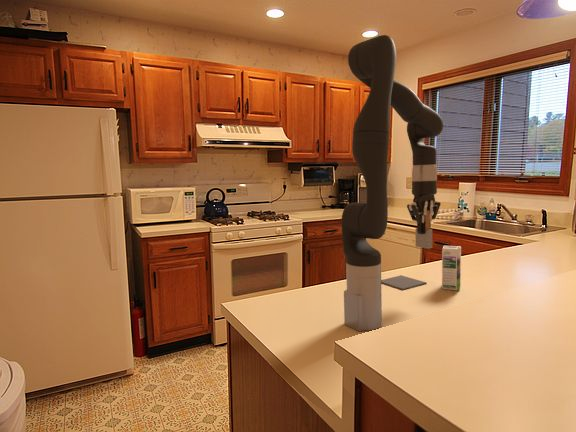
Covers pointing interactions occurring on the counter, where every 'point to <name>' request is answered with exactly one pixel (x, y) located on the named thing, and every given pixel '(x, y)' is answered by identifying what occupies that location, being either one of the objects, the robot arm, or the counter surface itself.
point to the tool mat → (402, 282)
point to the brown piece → (425, 234)
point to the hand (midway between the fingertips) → (423, 233)
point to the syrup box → (451, 267)
